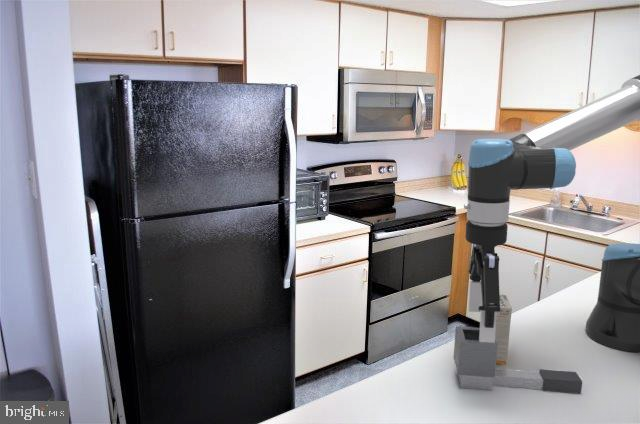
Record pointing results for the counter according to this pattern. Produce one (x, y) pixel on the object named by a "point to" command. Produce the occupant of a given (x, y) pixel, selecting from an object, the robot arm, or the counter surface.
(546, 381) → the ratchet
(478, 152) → the robot arm
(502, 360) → the supplement box
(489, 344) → the hollow square tube
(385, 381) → the counter surface
